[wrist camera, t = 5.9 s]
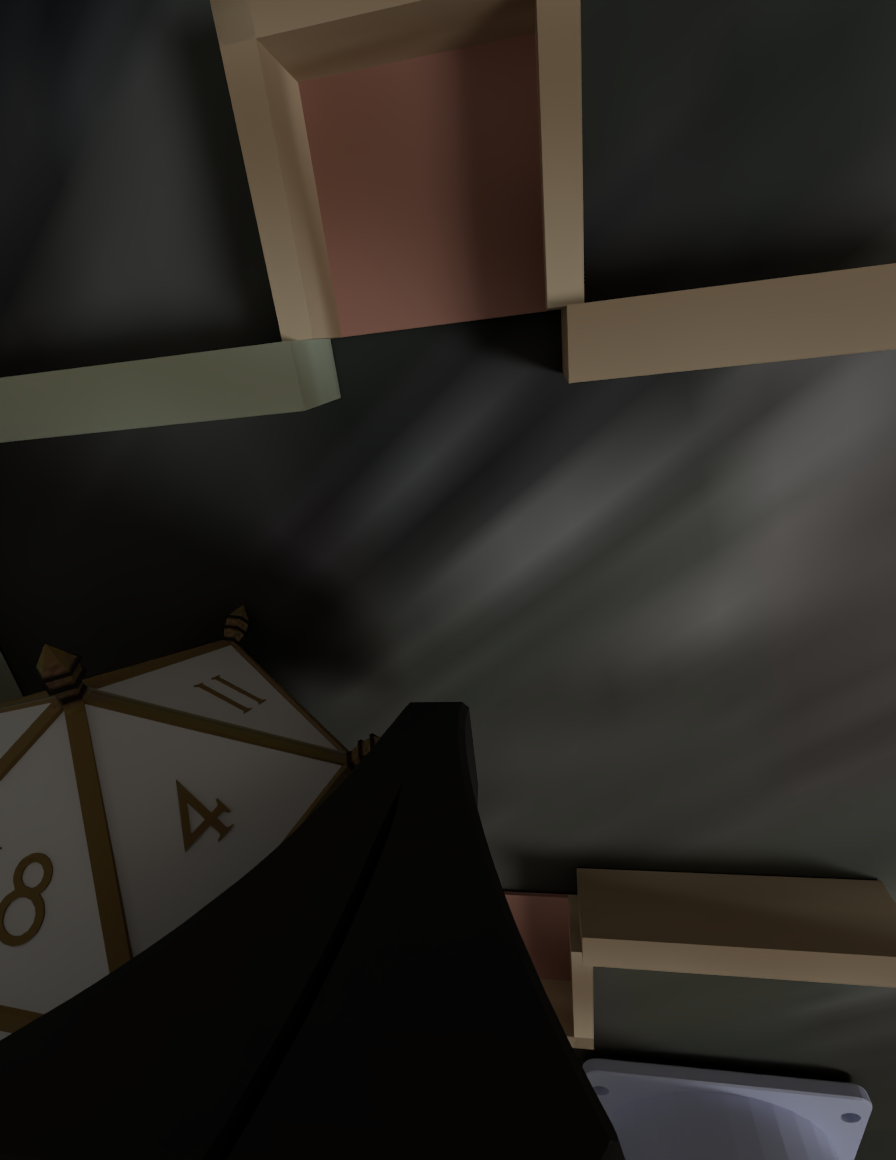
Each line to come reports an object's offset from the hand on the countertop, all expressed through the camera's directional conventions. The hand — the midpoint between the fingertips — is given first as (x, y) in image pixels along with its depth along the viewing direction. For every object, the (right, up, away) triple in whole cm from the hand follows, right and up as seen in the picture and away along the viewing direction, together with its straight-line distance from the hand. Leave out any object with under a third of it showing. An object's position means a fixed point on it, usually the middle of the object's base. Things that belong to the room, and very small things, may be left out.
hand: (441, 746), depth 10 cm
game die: (-5, 0, +4) cm, 6 cm away
